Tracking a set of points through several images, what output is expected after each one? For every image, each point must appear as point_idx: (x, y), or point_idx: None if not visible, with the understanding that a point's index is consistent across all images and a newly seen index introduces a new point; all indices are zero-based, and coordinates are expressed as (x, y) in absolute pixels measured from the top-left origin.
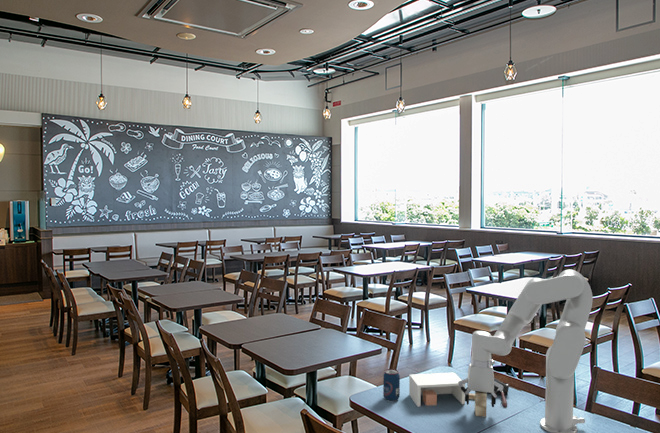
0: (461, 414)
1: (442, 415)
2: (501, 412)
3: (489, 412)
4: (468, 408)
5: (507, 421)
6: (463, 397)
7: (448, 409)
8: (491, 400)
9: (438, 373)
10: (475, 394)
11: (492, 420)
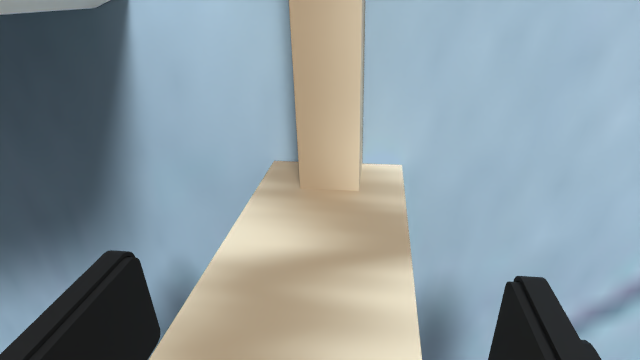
0: (150, 272)
1: (12, 305)
2: (636, 159)
3: (454, 186)
4: (196, 124)
5: (606, 353)
6: (28, 3)
7: (8, 191)
8: (527, 350)
9: None
10: None
11: (443, 346)
